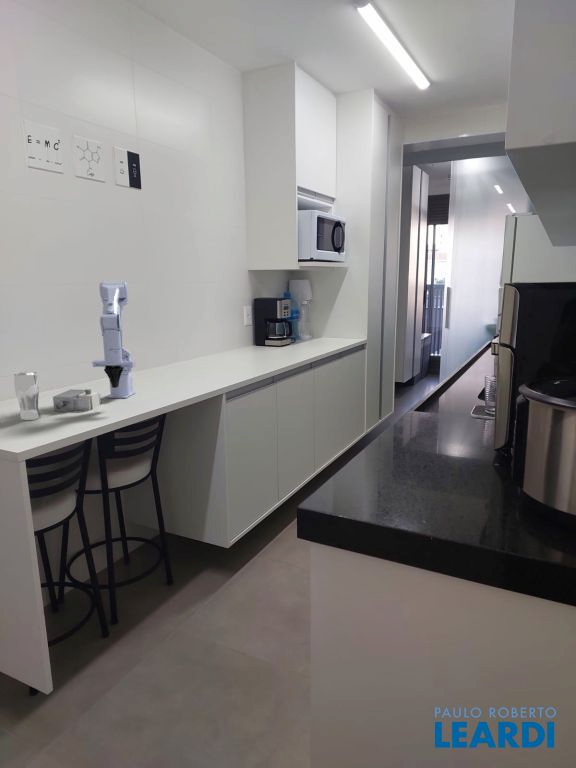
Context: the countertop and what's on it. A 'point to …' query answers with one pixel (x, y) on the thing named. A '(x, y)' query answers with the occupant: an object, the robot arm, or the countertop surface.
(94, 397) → the white block
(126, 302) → the robot arm
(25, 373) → the beer glass
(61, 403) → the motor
